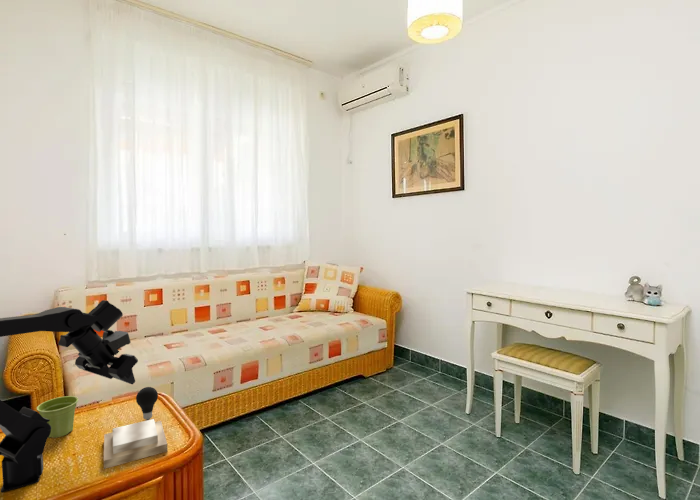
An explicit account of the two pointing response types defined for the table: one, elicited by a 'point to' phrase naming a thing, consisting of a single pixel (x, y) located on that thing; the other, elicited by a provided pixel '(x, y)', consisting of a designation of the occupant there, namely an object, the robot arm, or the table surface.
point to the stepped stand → (134, 442)
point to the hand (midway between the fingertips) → (122, 380)
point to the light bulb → (147, 401)
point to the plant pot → (59, 414)
